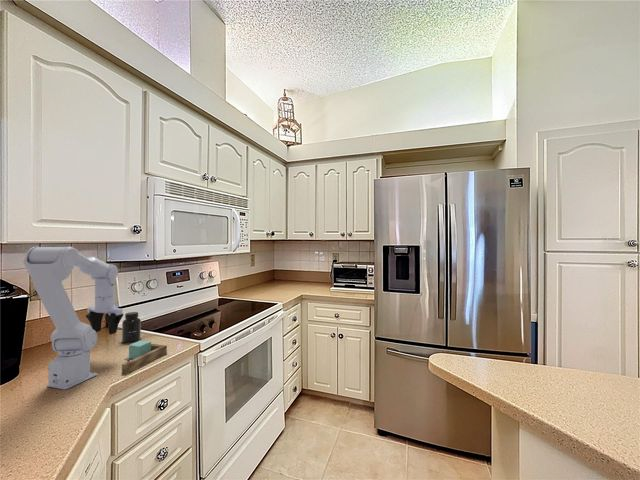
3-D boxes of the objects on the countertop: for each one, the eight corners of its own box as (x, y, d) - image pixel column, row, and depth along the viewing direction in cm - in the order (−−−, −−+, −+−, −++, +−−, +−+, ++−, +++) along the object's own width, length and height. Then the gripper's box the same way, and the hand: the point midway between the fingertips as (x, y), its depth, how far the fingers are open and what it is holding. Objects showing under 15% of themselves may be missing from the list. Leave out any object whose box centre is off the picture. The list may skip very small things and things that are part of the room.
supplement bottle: (131, 343, 120) (131, 315, 120) (118, 342, 121) (118, 314, 121) (144, 338, 126) (144, 311, 126) (131, 336, 128) (131, 310, 128)
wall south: (125, 374, 93) (125, 365, 93) (122, 373, 93) (121, 364, 93) (163, 354, 108) (163, 347, 108) (160, 354, 109) (160, 346, 109)
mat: (139, 361, 102) (139, 361, 102) (124, 359, 104) (124, 359, 104) (155, 354, 109) (155, 353, 109) (140, 352, 111) (140, 351, 111)
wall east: (163, 354, 108) (163, 347, 108) (141, 351, 111) (141, 344, 111) (166, 353, 110) (166, 345, 110) (144, 350, 113) (144, 342, 113)
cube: (151, 354, 108) (150, 341, 108) (139, 360, 103) (139, 346, 103) (140, 353, 109) (140, 340, 109) (128, 358, 105) (128, 345, 104)
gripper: (130, 295, 106) (130, 330, 106) (100, 293, 110) (100, 327, 110) (111, 299, 99) (111, 337, 99) (81, 296, 103) (81, 333, 103)
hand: (104, 332), depth 104 cm, fingers open, 7 cm apart
